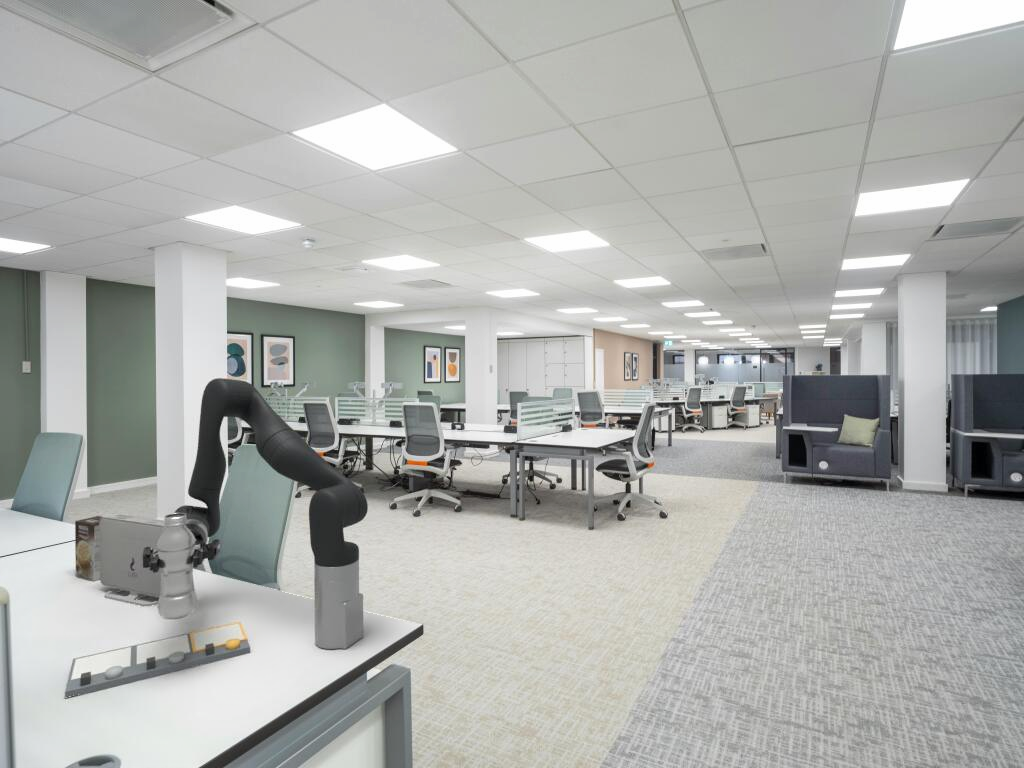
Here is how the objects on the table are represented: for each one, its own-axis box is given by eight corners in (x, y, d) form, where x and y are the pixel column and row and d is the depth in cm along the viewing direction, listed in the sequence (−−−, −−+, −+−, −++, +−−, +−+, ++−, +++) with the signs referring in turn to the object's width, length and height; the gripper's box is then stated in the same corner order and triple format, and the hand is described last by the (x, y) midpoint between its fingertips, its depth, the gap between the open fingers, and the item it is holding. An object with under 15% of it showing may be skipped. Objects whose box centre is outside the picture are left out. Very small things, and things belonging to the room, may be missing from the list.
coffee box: (74, 576, 160) (73, 520, 159) (98, 569, 166) (98, 515, 165) (93, 581, 156) (92, 524, 156) (117, 574, 162) (117, 518, 161)
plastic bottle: (175, 608, 114) (172, 510, 113) (205, 610, 113) (202, 511, 112) (149, 622, 107) (146, 519, 107) (181, 625, 106) (178, 520, 106)
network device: (91, 594, 147) (90, 518, 146) (124, 583, 155) (124, 511, 154) (158, 610, 137) (157, 528, 137) (191, 597, 145) (190, 519, 145)
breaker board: (240, 627, 128) (240, 615, 128) (250, 652, 116) (250, 640, 116) (73, 664, 111) (72, 651, 111) (65, 698, 99) (64, 684, 99)
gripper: (148, 526, 120) (130, 550, 104) (223, 519, 125) (217, 540, 110) (148, 561, 120) (131, 590, 105) (224, 552, 126) (218, 578, 110)
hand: (175, 564), depth 107 cm, fingers closed on plastic bottle, 6 cm apart
